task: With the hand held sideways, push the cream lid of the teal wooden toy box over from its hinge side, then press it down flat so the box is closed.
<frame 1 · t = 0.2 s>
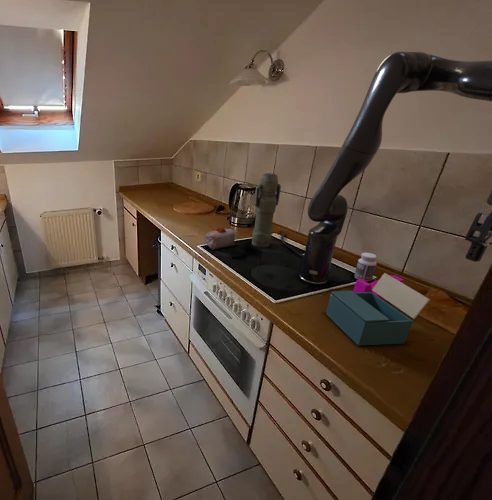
hand: (486, 257, 65), 29 cm above the worktop, tool pointing down, fingers open, 8 cm apart
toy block: (370, 297, 104), on the worktop
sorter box: (362, 327, 89), on the worktop
food item: (219, 246, 150), on the worktop
thermos: (260, 244, 151), on the worktop
lid: (398, 294, 85), point 11 cm above the worktop, hinge at 110.0°
pill bottle: (362, 278, 116), on the worktop
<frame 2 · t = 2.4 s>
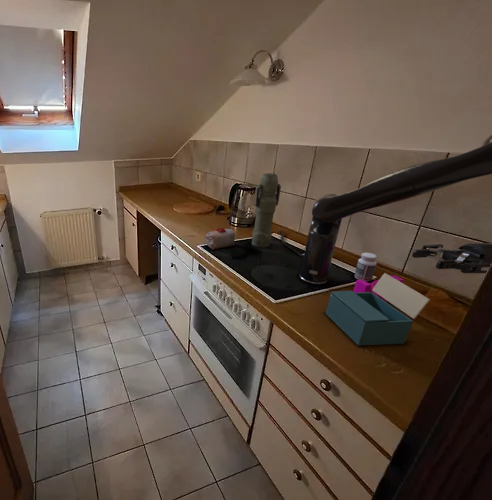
hand: (425, 259, 81), 22 cm above the worktop, tool horizontal, fingers open, 6 cm apart
nothing on the worktop moved.
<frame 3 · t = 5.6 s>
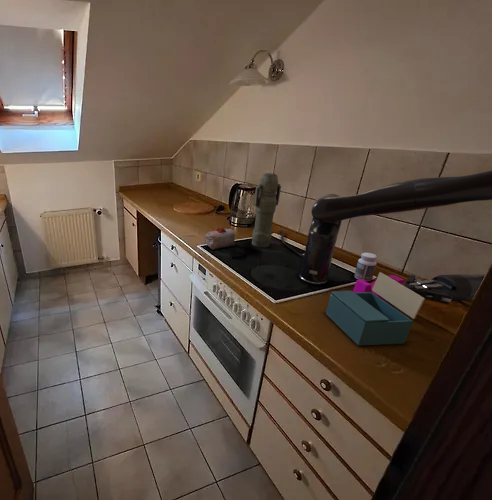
hand: (398, 290, 84), 13 cm above the worktop, tool horizontal, fingers closed
lid: (396, 293, 85), point 11 cm above the worktop, hinge at 95.8°, touching gripper
everything else where it was.
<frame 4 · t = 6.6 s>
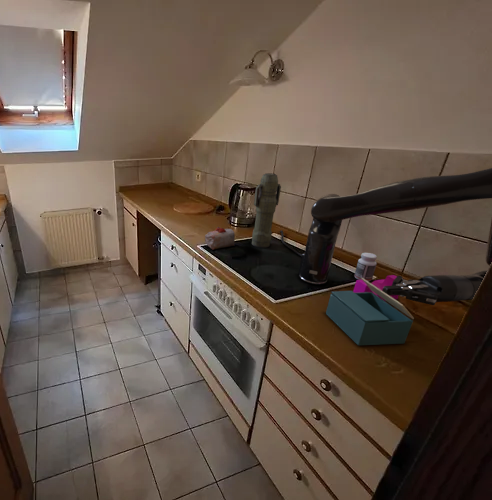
hand: (384, 290, 84), 12 cm above the worktop, tool horizontal, fingers closed
lid: (386, 297, 85), point 10 cm above the worktop, hinge at 45.2°, touching gripper
everything else where it was.
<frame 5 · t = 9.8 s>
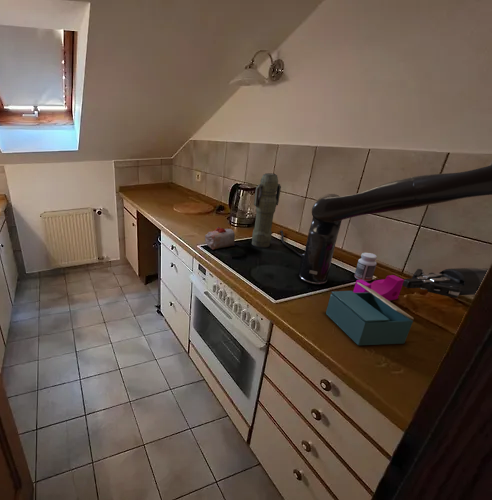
hand: (405, 283, 83), 15 cm above the worktop, tool horizontal, fingers closed
lid: (383, 299, 85), point 10 cm above the worktop, hinge at 28.9°
everything else where it was.
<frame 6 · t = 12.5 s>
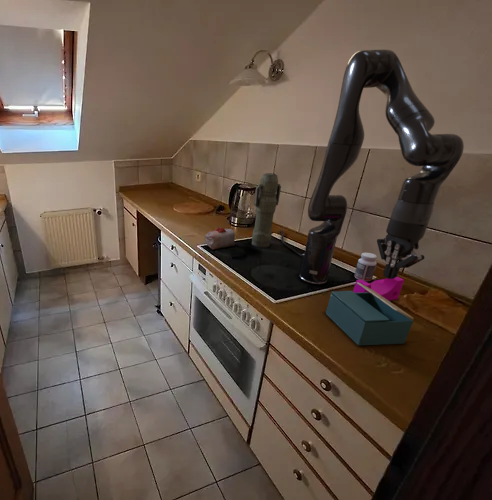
hand: (389, 277, 83), 17 cm above the worktop, tool pointing down, fingers closed
nothing on the worktop moved.
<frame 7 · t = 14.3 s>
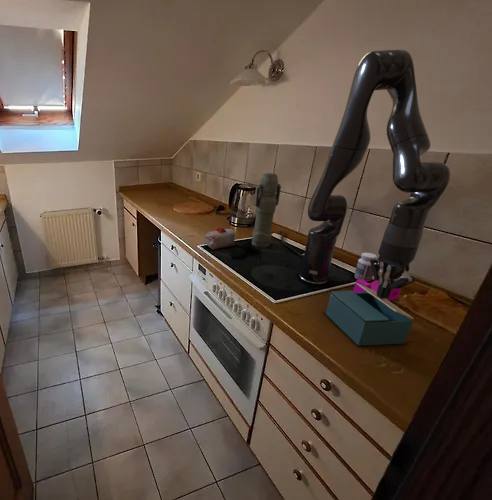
hand: (381, 297, 85), 10 cm above the worktop, tool pointing down, fingers closed
lid: (382, 299, 85), point 10 cm above the worktop, hinge at 26.0°, touching gripper
everything else where it was.
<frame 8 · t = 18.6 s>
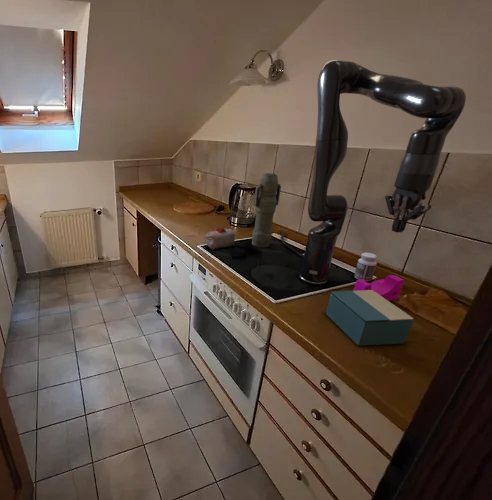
hand: (397, 231, 87), 27 cm above the worktop, tool pointing down, fingers closed
lid: (380, 304, 86), point 8 cm above the worktop, hinge at -0.6°
everything else where it was.
at the end: lid at -1° (first picture: +110°) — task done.
